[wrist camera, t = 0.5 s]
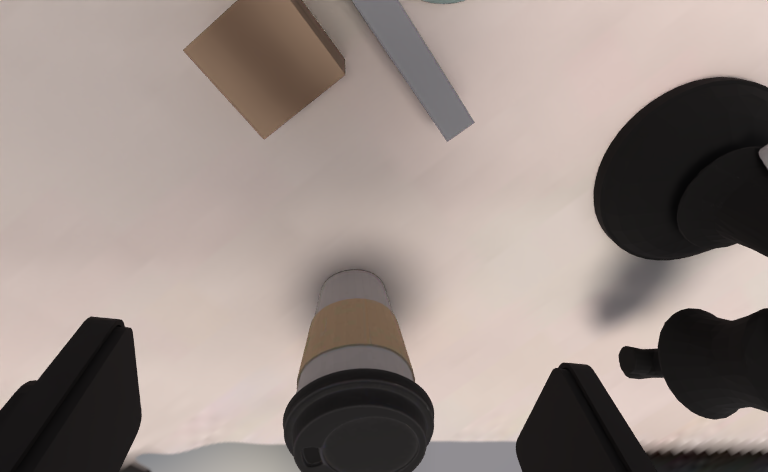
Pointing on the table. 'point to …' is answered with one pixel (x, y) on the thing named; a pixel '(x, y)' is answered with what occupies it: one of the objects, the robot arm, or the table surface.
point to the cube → (267, 60)
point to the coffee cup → (357, 386)
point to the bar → (416, 64)
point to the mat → (443, 1)
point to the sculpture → (695, 229)
